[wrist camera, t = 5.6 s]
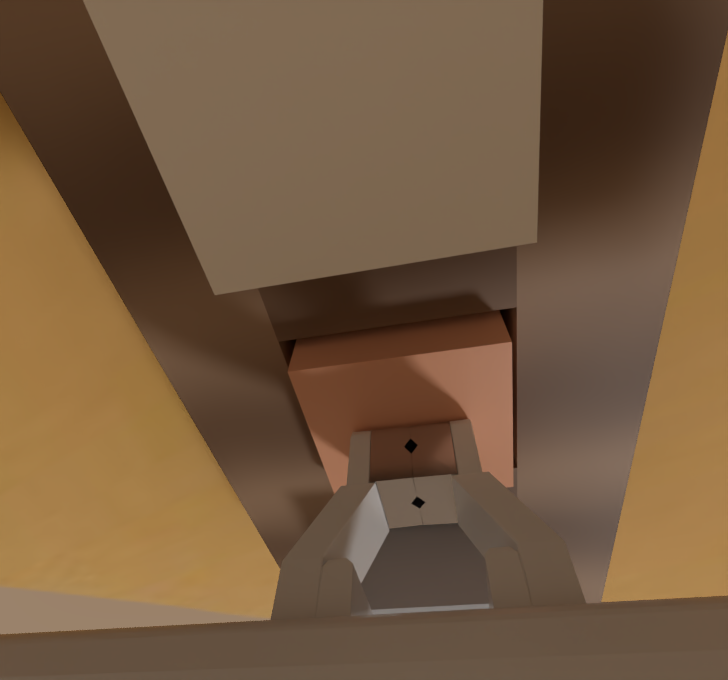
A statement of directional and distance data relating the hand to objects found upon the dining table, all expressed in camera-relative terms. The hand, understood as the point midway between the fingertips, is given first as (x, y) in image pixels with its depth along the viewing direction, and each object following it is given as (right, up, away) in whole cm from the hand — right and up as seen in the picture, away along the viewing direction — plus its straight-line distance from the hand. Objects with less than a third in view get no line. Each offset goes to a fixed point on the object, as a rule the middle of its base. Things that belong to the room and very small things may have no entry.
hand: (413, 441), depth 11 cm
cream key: (-2, +8, -2) cm, 9 cm away
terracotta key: (0, +3, +4) cm, 5 cm away
